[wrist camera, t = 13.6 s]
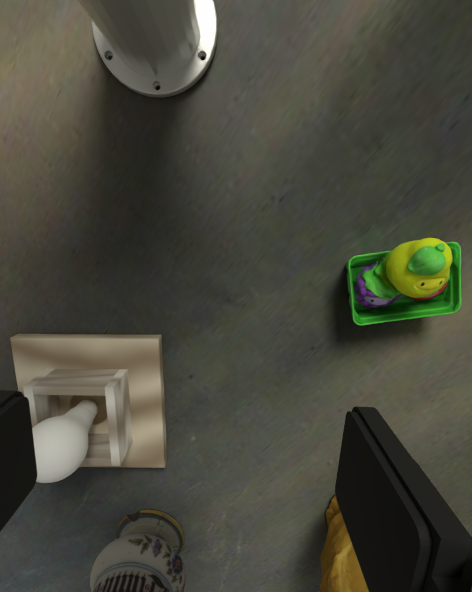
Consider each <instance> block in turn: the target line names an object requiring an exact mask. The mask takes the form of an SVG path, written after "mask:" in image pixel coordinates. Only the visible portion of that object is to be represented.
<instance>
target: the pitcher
mask: <svg viewBox="0 0 472 592" xmlns="http://www.w3.org/2000/svg"><path fill="white" fill-rule="evenodd" d="M326 511H327V512H326V513H325V514H326V519H327V526H328V528H329V529H328V534H327V537H326V541H325V545H324V548H323V552H322V553H321V555H320V558H321V570H322V578H321V583H320V589H321V592H369V590H368V588H367V585H366V582H365V579H364V576H363V573H362V571H361V568H360V565H359V562H358V559H357V557H356V554H355V551H354V548H353V545H352V542H351V540H350V537H349V534H348V531H347V528H346V525H345V523H344V520H343V517H342V514H341V511H340V509H339V506H338V503H337V500H336V495H334V497H333V499H332V500H331V504H330V505H329V507H328V510H327V509H326Z"/></svg>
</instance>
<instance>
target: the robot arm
mask: <svg viewBox="0 0 472 592" xmlns="http://www.w3.org/2000/svg"><path fill="white" fill-rule="evenodd" d="M78 1H79V2H80V3H81V5H82V6H83V8H84V9H85V10H86V12H87V13H88V15H89V16H90V17H91V19H92V30H93V36H94V40H95V43H96V47H97V50H98V52H99V54H100V56H101V58H102V60H103V62H104V63H105V65H106V66H107V67H108V69H109V70H110V71H111V73H112V74H113V75H114V76H115V77H116V78H117V79H118V80H119V81H120V82H121V83H122V84H124V85H125V86H126V87H127V88H129V89H131V90H133V91H135V92H137V93H139V94H141V95H145V96H149V97H160V98H163V97H169V96H174V95H177V94H179V93H182V92H184V91H186V90H187V89H189V88H190V87H192V86H193V85H194V84H195V83H196V82H197V81H198V80H199V79H200V78H201V77H202V76H203V74H204V73H205V71H206V70H207V69H208V67H209V65H210V63H211V60H212V58H213V56H214V52H215V48H216V44H217V33H218V27H217V15H216V10H215V4H214V1H213V0H78ZM112 57H113V58H112ZM110 58H112V59H111V60H110ZM201 58H205V60H201ZM157 87H160V89H159V90H157ZM36 480H37V466H36V457H35V449H34V440H33V431H32V423H31V414H30V405H29V400H28V398H27V397H24V395H23V393H22V392H20V391H3V390H0V531H1V530H2V529H3V527H4V526H5V525H6V523H7V522H8V521H9V519H10V518H11V517H12V515H13V514H14V513H15V511H16V510H17V509H18V507H19V506H20V505H21V503H22V502H23V501H24V499H25V498H26V497H27V495H28V494H29V493H30V491H31V490H32V489H33V487H34V485H35V483H36ZM335 493H336V500H337V503H338V506H339V509H340V511H341V514H342V517H343V520H344V523H345V525H346V528H347V531H348V534H349V537H350V540H351V542H352V545H353V548H354V551H355V554H356V557H357V559H358V562H359V565H360V568H361V571H362V573H363V576H364V579H365V582H366V585H367V588H368V590H369V592H472V537H471V536H470V534H469V533H468V532H467V530H466V529H465V528H464V526H463V525H462V523H461V522H460V521H459V519H458V518H457V517H456V515H455V514H454V513H453V511H452V510H451V509H450V507H449V506H448V504H447V503H446V502H445V500H444V499H443V498H442V496H441V495H440V494H439V492H438V491H437V489H436V488H435V487H434V485H433V484H432V483H431V481H430V480H429V479H428V477H427V476H426V475H425V473H424V472H423V470H422V469H421V468H420V466H419V465H418V464H417V463H416V462H415V460H414V459H412V457H411V456H410V454H409V453H408V452H407V450H406V449H405V448H404V446H403V445H402V444H401V442H400V441H399V439H398V438H397V437H396V435H395V434H394V433H393V431H392V430H391V428H390V427H389V426H388V424H387V423H386V422H385V420H384V419H383V418H382V416H381V415H380V413H379V412H378V411H377V409H375V408H373V407H354V408H353V410H352V412H350V411H348V412H347V414H346V419H345V425H344V432H343V439H342V445H341V452H340V459H339V466H338V472H337V479H336V486H335Z"/></svg>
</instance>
